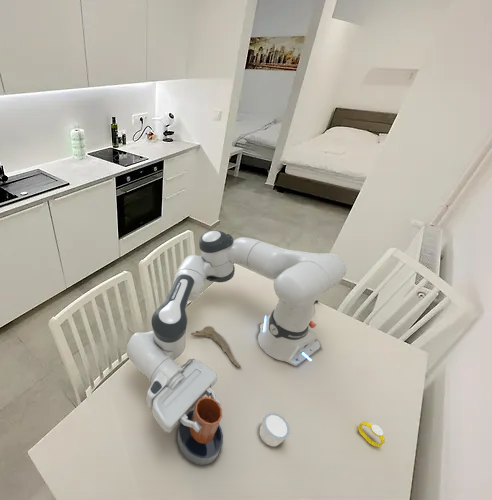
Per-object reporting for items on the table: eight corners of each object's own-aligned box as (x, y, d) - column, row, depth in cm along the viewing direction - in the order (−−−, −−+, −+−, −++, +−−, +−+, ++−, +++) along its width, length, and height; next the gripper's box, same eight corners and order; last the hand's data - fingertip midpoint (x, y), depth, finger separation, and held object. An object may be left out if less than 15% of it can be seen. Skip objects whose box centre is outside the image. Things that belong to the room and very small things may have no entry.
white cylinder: (284, 452, 79) (292, 442, 75) (258, 446, 80) (265, 436, 76) (279, 425, 84) (287, 415, 80) (255, 420, 85) (261, 409, 81)
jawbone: (202, 323, 115) (203, 320, 113) (249, 354, 104) (251, 350, 103) (189, 336, 109) (190, 332, 108) (239, 370, 98) (240, 366, 97)
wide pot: (205, 412, 87) (208, 403, 84) (227, 455, 78) (231, 447, 75) (170, 426, 84) (172, 418, 80) (189, 473, 75) (191, 466, 71)
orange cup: (206, 414, 80) (213, 393, 73) (218, 438, 75) (227, 418, 68) (185, 423, 78) (190, 402, 71) (197, 448, 73) (203, 428, 66)
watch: (353, 430, 83) (362, 421, 80) (358, 425, 84) (368, 416, 81) (374, 451, 79) (385, 442, 76) (379, 446, 80) (391, 437, 77)
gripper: (192, 361, 86) (231, 395, 78) (142, 408, 75) (181, 454, 67) (194, 349, 82) (235, 384, 74) (142, 397, 71) (184, 444, 63)
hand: (209, 417), depth 71 cm, fingers closed on orange cup, 6 cm apart
